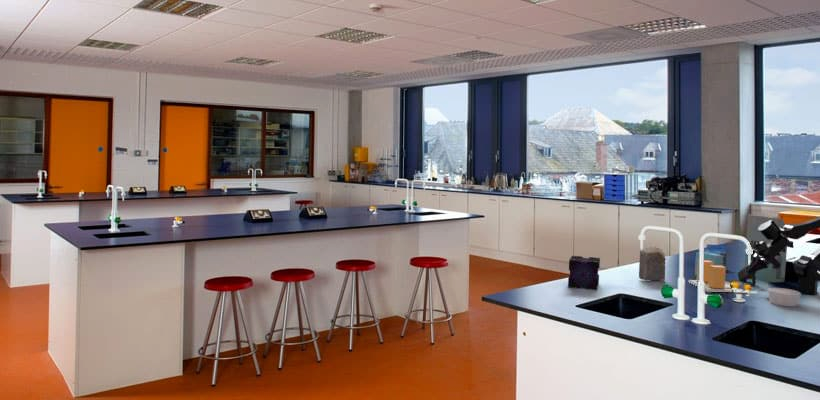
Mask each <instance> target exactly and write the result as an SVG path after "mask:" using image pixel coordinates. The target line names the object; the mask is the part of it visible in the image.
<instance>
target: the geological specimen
mask: <svg viewBox="0 0 820 400" xmlns="http://www.w3.org/2000/svg"><path fill="white" fill-rule="evenodd" d="M666 259H667V257H666V254H665V253H664V251H663V250H662V249H660V248H659V247H657V246H654V247H651V246H650V247H647V248H645V249H642V250H640V251H639V263H638V264H639V266H638V267H639V268H638V269H639V270H638V278H639V279H640V280H643V281H652V282H655V281H656V282H658V281H665V280H666Z"/></svg>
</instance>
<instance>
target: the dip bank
mask: <svg viewBox="0 0 820 400" xmlns="http://www.w3.org/2000/svg"><path fill="white" fill-rule="evenodd" d="M688 282H689V283H688ZM688 282H687V283H688V284H690V283H691V285H692V284H693V286H694V285H695V286H694V287H696V286H697V282H698V280H696V279H695V280H694V279H688ZM730 283H731V282H729V281H727V280H725V288H712V287H710V286H708V284H709V282H705V291H704V292H706V293H711V292H732V288H731V287H730Z"/></svg>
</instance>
